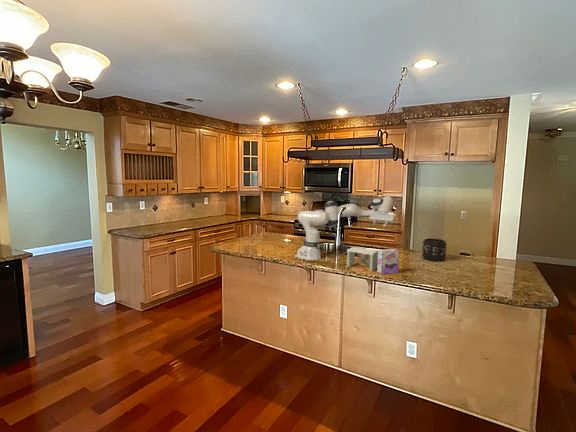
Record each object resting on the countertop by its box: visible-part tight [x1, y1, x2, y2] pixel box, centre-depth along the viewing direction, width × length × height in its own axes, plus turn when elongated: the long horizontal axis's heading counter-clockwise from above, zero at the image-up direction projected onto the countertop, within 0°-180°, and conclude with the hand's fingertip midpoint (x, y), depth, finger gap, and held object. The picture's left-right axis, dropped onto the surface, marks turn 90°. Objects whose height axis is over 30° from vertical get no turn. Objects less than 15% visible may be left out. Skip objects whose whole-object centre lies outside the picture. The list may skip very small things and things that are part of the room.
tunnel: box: [346, 246, 378, 272], centre depth 251 cm, size 20×10×13 cm, turn 54°
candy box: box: [376, 248, 400, 275], centre depth 239 cm, size 14×6×16 cm, turn 105°
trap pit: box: [350, 267, 365, 272], centre depth 246 cm, size 10×2×1 cm, turn 54°
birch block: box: [358, 253, 370, 267], centre depth 261 cm, size 10×10×8 cm
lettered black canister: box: [421, 238, 447, 263], centre depth 276 cm, size 18×18×16 cm
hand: (379, 225), depth 275 cm, fingers open, 7 cm apart
